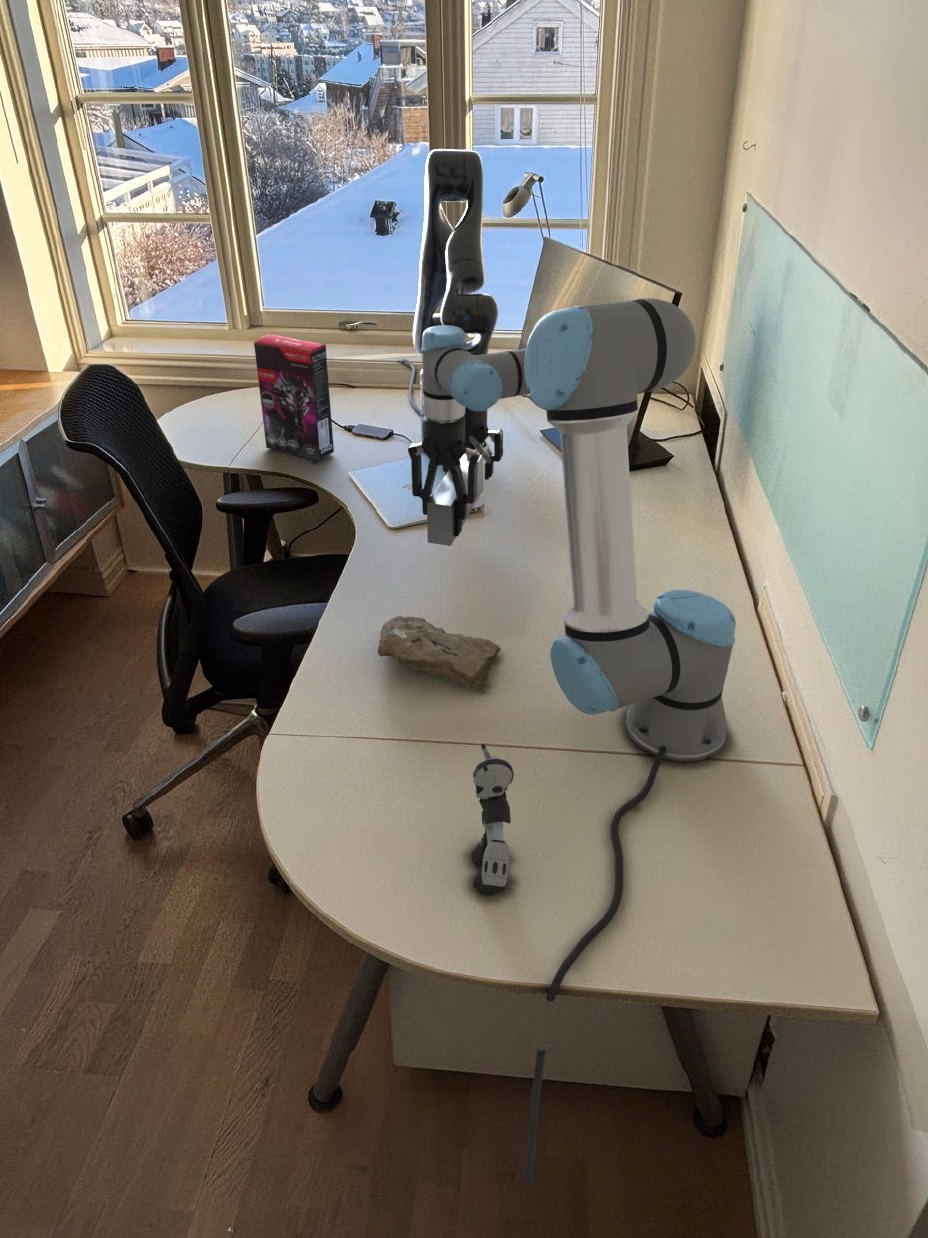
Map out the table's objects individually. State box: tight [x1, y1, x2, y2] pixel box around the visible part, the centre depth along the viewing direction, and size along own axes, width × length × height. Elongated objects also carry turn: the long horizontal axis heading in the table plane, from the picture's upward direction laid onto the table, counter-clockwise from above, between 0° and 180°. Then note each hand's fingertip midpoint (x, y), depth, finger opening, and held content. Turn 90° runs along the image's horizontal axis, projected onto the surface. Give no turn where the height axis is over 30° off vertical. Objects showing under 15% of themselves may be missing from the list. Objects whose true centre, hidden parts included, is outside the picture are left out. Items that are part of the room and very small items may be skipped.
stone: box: [377, 615, 502, 691], centre depth 155 cm, size 21×15×6 cm
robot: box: [470, 743, 515, 896], centre depth 114 cm, size 20×5×20 cm, turn 3°
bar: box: [426, 454, 485, 547], centre depth 183 cm, size 25×5×8 cm, turn 165°
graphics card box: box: [253, 333, 335, 461], centre depth 223 cm, size 17×7×27 cm, turn 62°
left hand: (467, 475), depth 189 cm, fingers open, 8 cm apart
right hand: (444, 531), depth 178 cm, fingers closed on bar, 5 cm apart
